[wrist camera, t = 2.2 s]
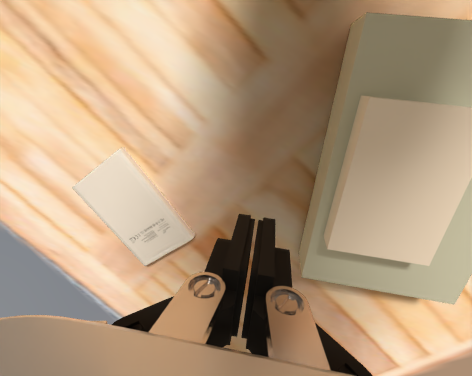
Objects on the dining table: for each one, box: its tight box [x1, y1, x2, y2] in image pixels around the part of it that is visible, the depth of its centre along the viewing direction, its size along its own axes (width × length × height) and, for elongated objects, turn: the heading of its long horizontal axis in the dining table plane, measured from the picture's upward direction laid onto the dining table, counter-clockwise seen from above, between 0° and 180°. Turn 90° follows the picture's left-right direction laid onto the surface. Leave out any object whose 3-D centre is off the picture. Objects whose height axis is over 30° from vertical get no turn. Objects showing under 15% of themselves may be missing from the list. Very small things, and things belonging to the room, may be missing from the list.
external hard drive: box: [72, 147, 195, 266], centre depth 30 cm, size 2×8×12 cm
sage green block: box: [299, 13, 472, 304], centre depth 23 cm, size 22×14×4 cm, turn 175°
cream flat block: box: [324, 95, 472, 266], centre depth 20 cm, size 12×8×2 cm, turn 175°
